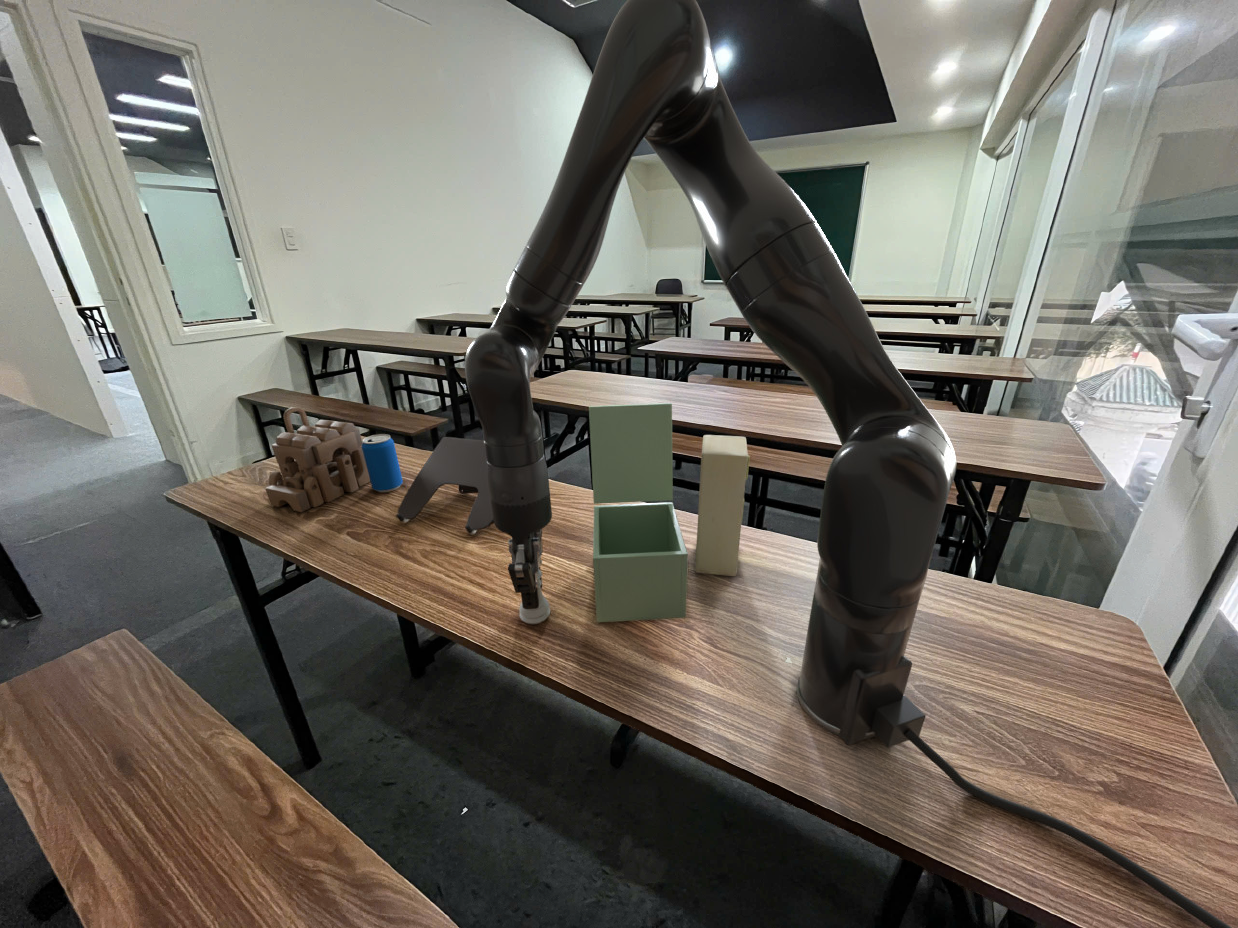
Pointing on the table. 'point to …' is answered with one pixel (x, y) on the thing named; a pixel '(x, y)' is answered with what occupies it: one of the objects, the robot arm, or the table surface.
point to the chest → (639, 563)
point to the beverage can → (382, 462)
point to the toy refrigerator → (721, 503)
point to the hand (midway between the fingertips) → (533, 597)
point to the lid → (631, 453)
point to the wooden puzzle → (316, 463)
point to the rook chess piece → (541, 612)
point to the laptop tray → (453, 480)
